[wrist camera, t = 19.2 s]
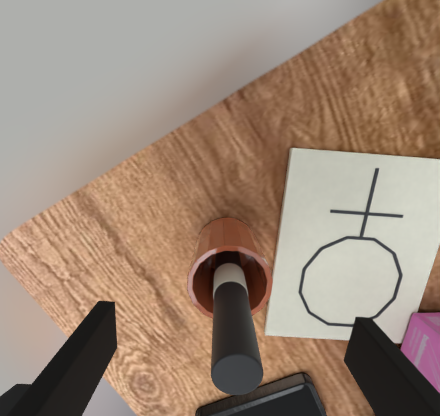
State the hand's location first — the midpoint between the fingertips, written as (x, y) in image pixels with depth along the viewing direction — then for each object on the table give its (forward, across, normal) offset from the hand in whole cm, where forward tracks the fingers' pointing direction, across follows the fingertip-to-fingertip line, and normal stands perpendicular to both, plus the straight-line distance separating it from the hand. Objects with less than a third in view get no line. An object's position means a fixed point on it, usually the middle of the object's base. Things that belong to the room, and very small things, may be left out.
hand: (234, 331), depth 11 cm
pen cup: (+12, 0, -1) cm, 12 cm away
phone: (+11, +6, -23) cm, 26 cm away
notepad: (+12, +13, -1) cm, 17 cm away
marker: (+11, 0, -1) cm, 11 cm away
